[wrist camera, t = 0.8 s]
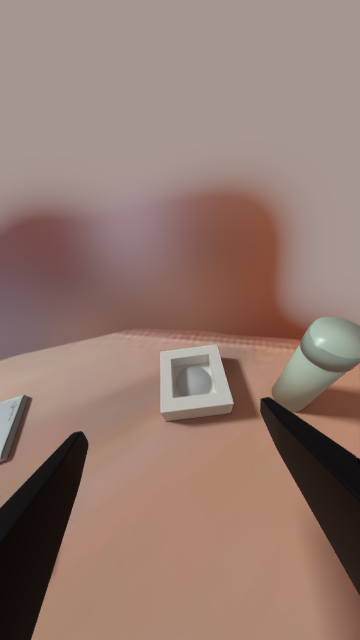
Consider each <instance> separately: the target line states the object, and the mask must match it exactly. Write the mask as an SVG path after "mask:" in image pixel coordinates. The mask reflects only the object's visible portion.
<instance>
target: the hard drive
mask: <svg viewBox="0 0 360 640" xmlns="http://www.w3.org/2000/svg"><path fill="white" fill-rule="evenodd" d="M27 400H28V396H26V395H22V396H19V397H16V398H13V399H9V400H6V401H3V402H0V462H2V461H4V460H7V458H8V455H9V452H10V449H11V446H12V443H13V441H14V438H15V435H16V432H17V429H18V426H19V423H20V420H21V417H22V415H23V412H24V409H25V406H26V403H27Z"/></svg>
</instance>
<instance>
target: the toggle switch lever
mask: <svg viewBox="0 0 360 640" xmlns="http://www.w3.org/2000/svg"><path fill="white" fill-rule="evenodd" d="M359 363H360V326H359V325H357V324H355V323H353V322H351V321H348V320H345V319H342V318H337V317H322V318H319V319H317V320H316V321H315V322H314V323H312V324H311V325H310V327H309V328H308V330H307V332H306V333H305V335H304V336H303V338H302V340H301V342H300V345H299V347H298V348H297V350H296V351H295V353H294V355H293V356H292V358H291V359H290V361H289V362H288V364H287V366H286V367H285V369H284V370H283V372H282V373H281V375H280V377H279V378H278V380H277V381H276V383H275V385H274V386H273V388H272V396H273V398H274V400H275V401H276V402H277V403H279V404H280V405H282V406H283V407H285V408H286V409H287V410H289V411H290V412H299V411H301V410H303V409H304V408H305V407H306V406H307V405H308V404H310V403H311V402H312V401H313V400H314V399H315V398H317V397H318V396H319V395H320V394H321V393H323V392H324V391H325V390H326V389H327V388H328V387H330V386H331V385H332V384H333V383H334V382H335V381H337V380H338V379H339V378H340V377H341V376H342V375H344V374H345V373H346V372H348V371H350V370H352V369H353V368H354V367H355V366H357V365H358V364H359Z"/></svg>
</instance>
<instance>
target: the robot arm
mask: <svg viewBox="0 0 360 640" xmlns="http://www.w3.org/2000/svg"><path fill="white" fill-rule="evenodd" d="M260 412H261V415H262V417H263V419H264V422H265V424H266V426H267V428H268V430H269V433H270V435H271V437H272V439H273V442H274V444H275V446H276V448H277V450H278V452H279V454H280V455H281V457H282V459H283V461H284V462H285V464H286V466H287V468H288V470H289V471H290V473H291V475H292V477H293V478H294V480H295V482H296V484H297V485H298V487H299V489H300V491H301V493H302V494H303V496H304V498H305V500H306V501H307V503H308V505H309V507H310V508H311V510H312V512H313V514H314V516H315V517H316V519H317V521H318V523H319V524H320V526H321V528H322V530H323V531H324V533H325V535H326V537H327V539H328V540H329V542H330V544H331V546H332V547H333V549H334V551H335V553H336V554H337V556H338V558H339V560H340V562H341V563H342V565H343V567H344V569H345V570H346V572H347V574H348V576H349V577H350V579H351V581H352V583H353V585H354V586H355V588H356V590H357V592H358V593H359V595H360V459H359V458H357V457H356V456H355V455H353V454H352V453H351V452H349V451H348V450H346V449H345V448H343V447H342V446H340V445H339V444H337V443H336V442H334V441H333V440H331V439H330V438H329V437H327V436H326V435H324V434H323V433H321V432H320V431H318V430H317V429H315V428H314V427H312V426H311V425H309V424H308V423H307V422H305V421H304V420H302V419H301V418H299V417H298V416H296V415H295V414H293V413H292V412H290V411H289V410H287V409H286V408H285V407H283V406H282V405H280V404H279V403H277V402H276V401H274V400H273V399H271V398H269V397H266V398H262V399H261V402H260ZM87 450H88V440H87V439H86V437H85V435H84V433H83V432H82V431H79V432H74V433H72V434H71V435H70V436H69V437H68V438H67V439H66V440H65V441H64V443H63V444H62V445H61V446H60V447H59V448H58V449H57V450H56V451H55V452H54V453H53V454H52V455H51V456H50V457H49V458H48V459H47V460H46V461H45V462H44V463H43V464H42V465H41V466H40V467H39V468H38V469H37V471H36V472H35V473H34V474H33V475H32V476H31V477H30V478H29V479H28V480H27V481H26V482H25V483H24V484H23V485H22V486H21V487H20V488H19V489H18V490H17V491H16V492H15V493H14V494H13V495H12V496H11V497H10V499H9V500H8V501H7V502H6V503H5V504H4V505H3V506H2V507H1V508H0V640H31V638H32V635H33V632H34V628H35V625H36V622H37V619H38V616H39V613H40V609H41V606H42V603H43V600H44V597H45V593H46V590H47V587H48V584H49V581H50V578H51V574H52V571H53V568H54V565H55V562H56V558H57V555H58V552H59V549H60V546H61V543H62V539H63V536H64V533H65V530H66V527H67V524H68V520H69V517H70V514H71V511H72V508H73V504H74V501H75V498H76V495H77V492H78V488H79V485H80V481H81V477H82V472H83V468H84V464H85V459H86V455H87Z"/></svg>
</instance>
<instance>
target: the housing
mask: <svg viewBox="0 0 360 640" xmlns="http://www.w3.org/2000/svg"><path fill="white" fill-rule="evenodd" d="M160 364H161V414H162V416H163V418H164V419H165V421H172V420H180V419H188V418H196V417H204V416H212V415H220V414H228V413H231V411H232V407H233V404H234V403H233V399H232V396H231V393H230V389H229V386H228V382H227V379H226V375H225V372H224V368H223V365H222V361H221V358H220V355H219V351H218V348H217V344H216V345H208V346H200V347H193V348H185V349H178V350H170V351H163V352H160Z"/></svg>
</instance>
